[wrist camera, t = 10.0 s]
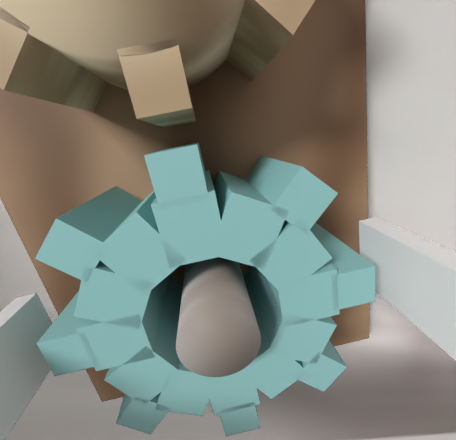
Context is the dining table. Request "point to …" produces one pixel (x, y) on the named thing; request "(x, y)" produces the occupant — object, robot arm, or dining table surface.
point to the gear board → (182, 129)
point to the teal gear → (172, 290)
